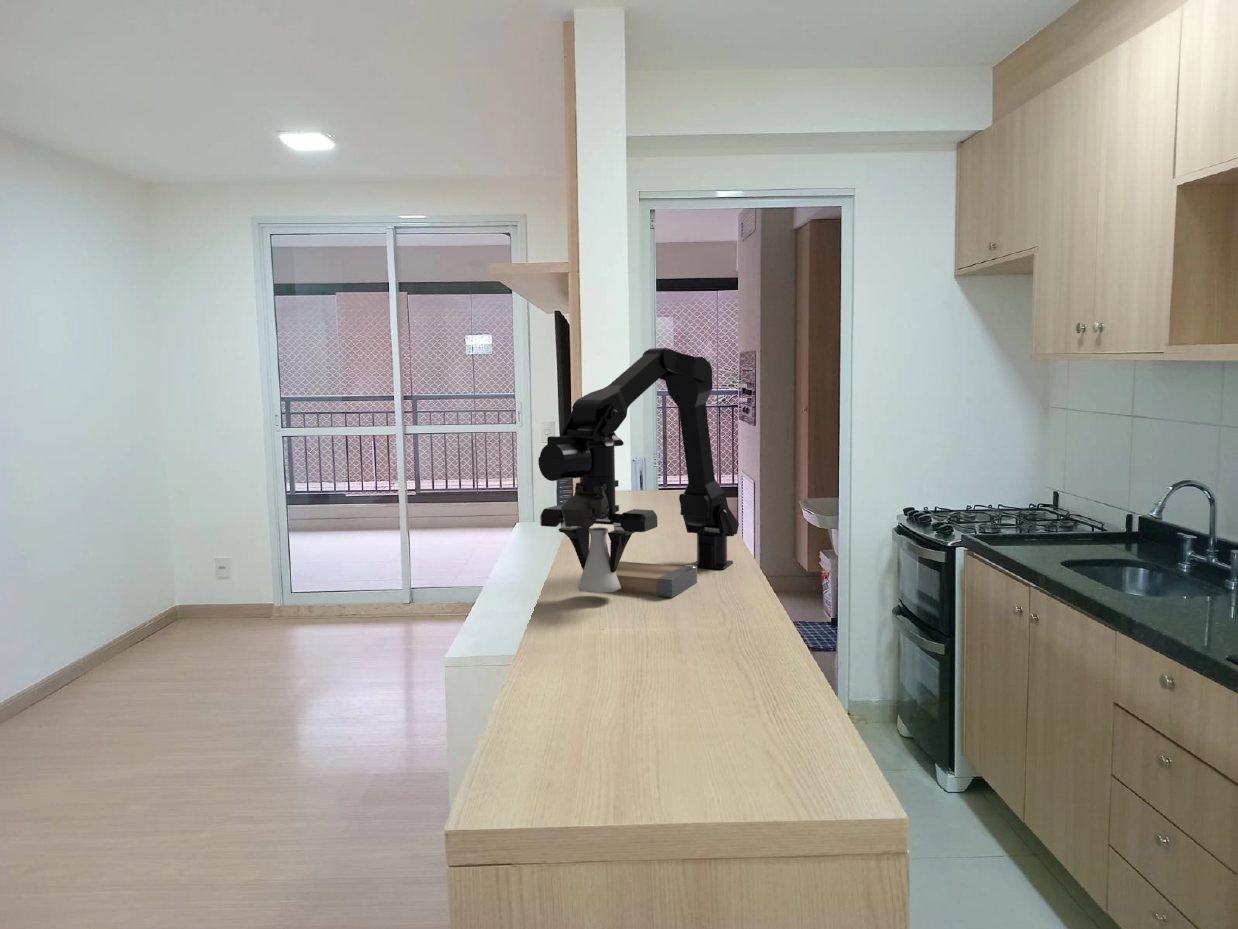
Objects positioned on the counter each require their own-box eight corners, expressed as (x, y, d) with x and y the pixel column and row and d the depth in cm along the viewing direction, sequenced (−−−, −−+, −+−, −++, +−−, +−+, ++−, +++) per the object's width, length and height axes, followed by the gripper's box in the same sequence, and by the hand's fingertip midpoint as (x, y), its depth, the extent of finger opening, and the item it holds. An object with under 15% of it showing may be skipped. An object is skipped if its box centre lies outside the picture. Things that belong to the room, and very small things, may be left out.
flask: (617, 595, 135) (616, 532, 135) (572, 594, 137) (571, 532, 136) (625, 584, 143) (624, 525, 142) (582, 583, 144) (581, 524, 143)
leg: (686, 581, 152) (686, 564, 152) (699, 582, 151) (699, 565, 151) (658, 596, 141) (657, 578, 141) (672, 597, 140) (671, 579, 140)
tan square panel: (621, 577, 157) (621, 561, 157) (682, 583, 152) (682, 566, 151) (594, 590, 147) (593, 573, 147) (658, 596, 142) (658, 579, 142)
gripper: (521, 478, 135) (523, 576, 136) (629, 482, 127) (630, 586, 128) (556, 472, 145) (558, 563, 146) (658, 475, 137) (659, 571, 138)
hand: (599, 570), depth 139 cm, fingers closed on flask, 5 cm apart
